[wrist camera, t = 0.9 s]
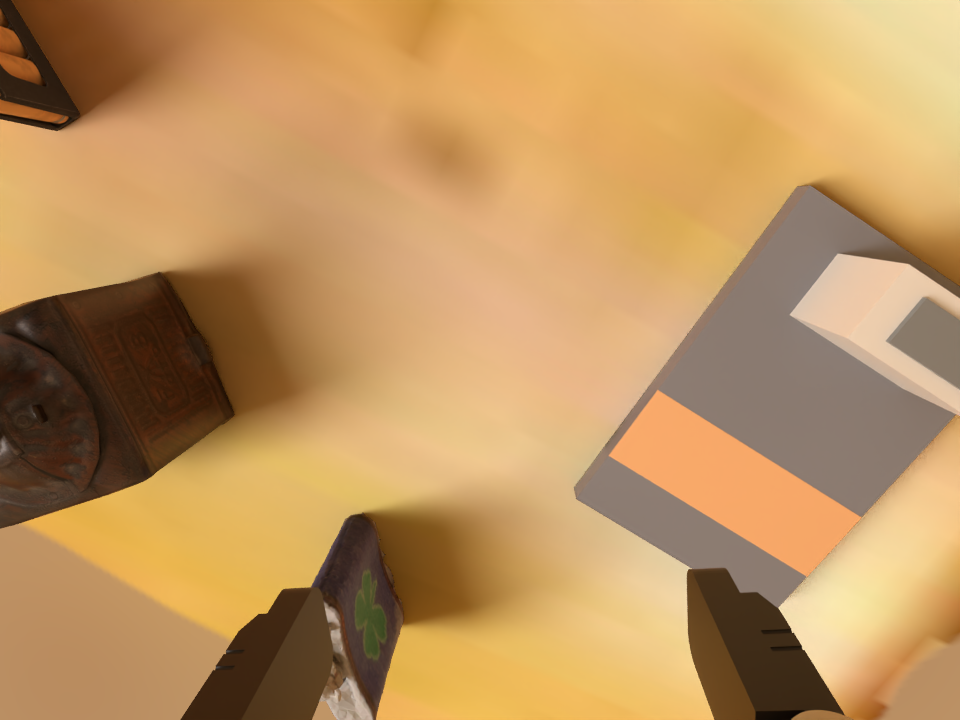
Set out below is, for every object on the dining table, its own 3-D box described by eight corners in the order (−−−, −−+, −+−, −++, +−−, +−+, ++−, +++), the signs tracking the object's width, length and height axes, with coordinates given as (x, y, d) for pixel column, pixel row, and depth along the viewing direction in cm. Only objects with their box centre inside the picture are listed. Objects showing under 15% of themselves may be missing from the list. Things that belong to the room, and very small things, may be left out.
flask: (409, 623, 41) (372, 762, 31) (370, 629, 42) (320, 769, 32) (373, 508, 39) (320, 616, 29) (332, 516, 40) (265, 625, 29)
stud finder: (837, 253, 32) (913, 264, 26) (953, 330, 32) (1054, 359, 26) (789, 314, 33) (850, 339, 27) (902, 388, 33) (988, 429, 27)
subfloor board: (797, 186, 32) (810, 185, 31) (1008, 328, 34) (1030, 334, 32) (574, 487, 38) (576, 498, 36) (761, 600, 39) (770, 615, 38)
